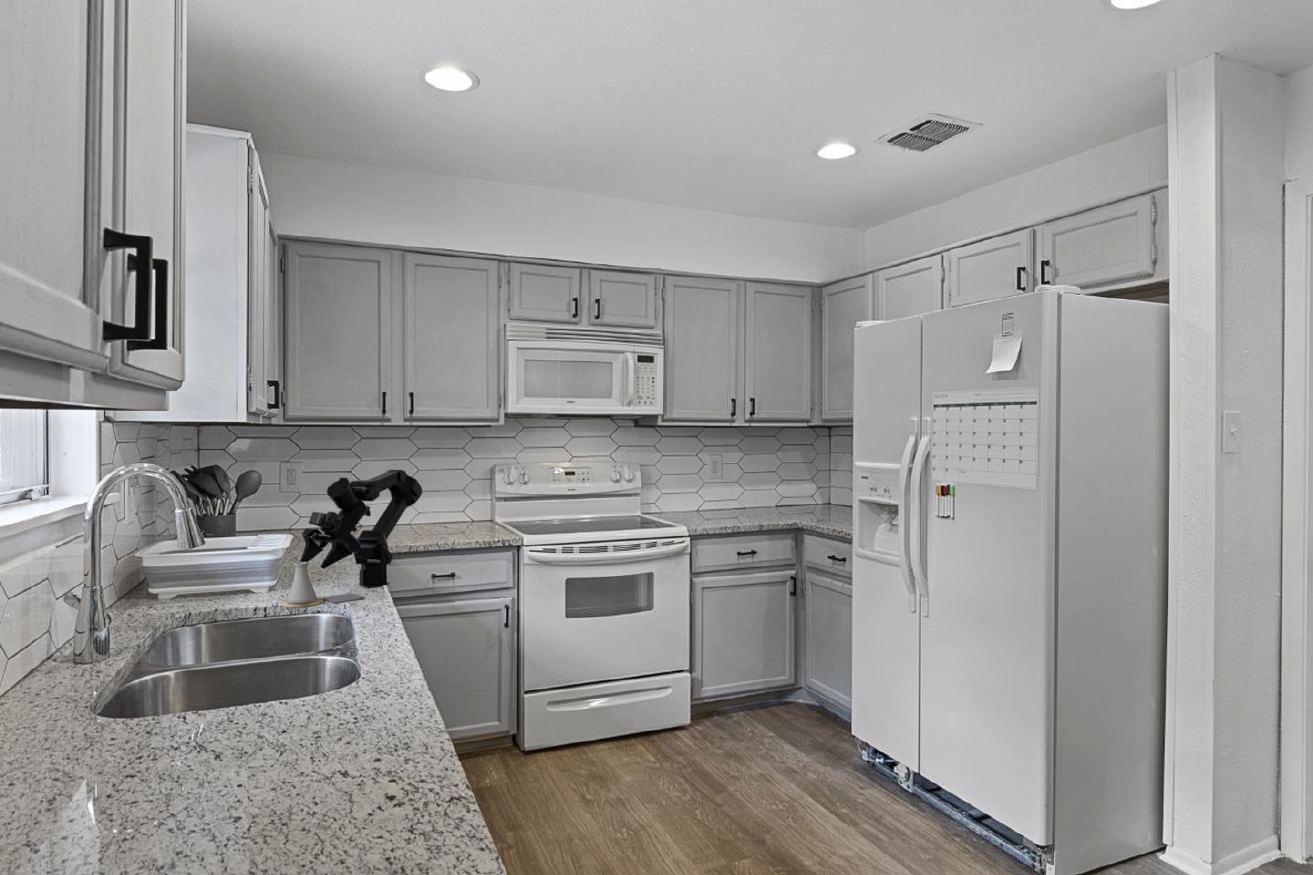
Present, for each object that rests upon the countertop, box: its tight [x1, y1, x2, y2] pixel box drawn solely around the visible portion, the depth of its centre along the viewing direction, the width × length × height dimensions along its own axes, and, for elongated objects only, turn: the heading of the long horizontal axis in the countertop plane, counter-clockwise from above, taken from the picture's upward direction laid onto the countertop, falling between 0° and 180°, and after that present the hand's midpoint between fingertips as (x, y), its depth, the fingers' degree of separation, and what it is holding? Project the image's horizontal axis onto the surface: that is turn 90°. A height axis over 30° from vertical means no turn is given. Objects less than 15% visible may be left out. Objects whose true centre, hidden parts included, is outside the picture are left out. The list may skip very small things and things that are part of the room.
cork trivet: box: [280, 597, 325, 608], centre depth 202 cm, size 10×10×1 cm
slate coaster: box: [322, 592, 366, 605], centre depth 207 cm, size 8×8×1 cm
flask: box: [285, 561, 319, 604], centre depth 202 cm, size 7×7×10 cm
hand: (311, 566), depth 205 cm, fingers open, 9 cm apart
